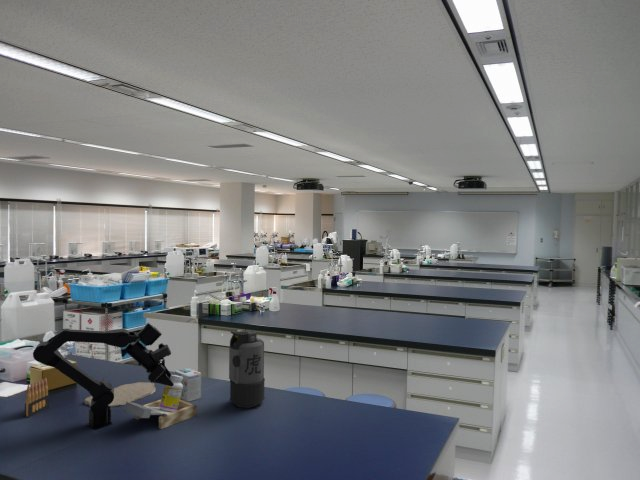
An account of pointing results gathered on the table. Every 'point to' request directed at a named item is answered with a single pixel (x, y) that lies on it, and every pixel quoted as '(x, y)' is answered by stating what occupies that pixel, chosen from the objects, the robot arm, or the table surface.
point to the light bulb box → (190, 384)
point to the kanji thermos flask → (246, 369)
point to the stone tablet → (129, 393)
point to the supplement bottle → (172, 394)
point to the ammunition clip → (36, 398)
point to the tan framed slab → (174, 413)
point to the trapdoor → (143, 410)
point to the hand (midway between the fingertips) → (172, 381)
